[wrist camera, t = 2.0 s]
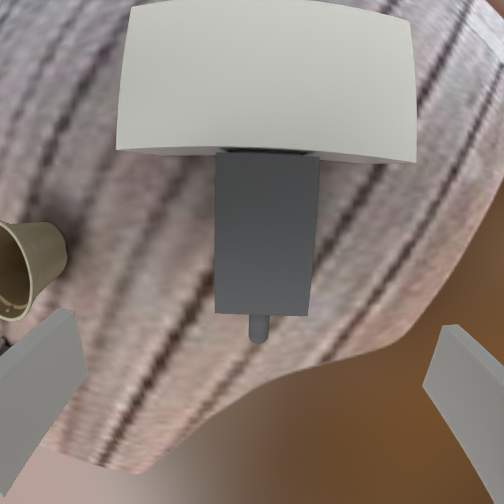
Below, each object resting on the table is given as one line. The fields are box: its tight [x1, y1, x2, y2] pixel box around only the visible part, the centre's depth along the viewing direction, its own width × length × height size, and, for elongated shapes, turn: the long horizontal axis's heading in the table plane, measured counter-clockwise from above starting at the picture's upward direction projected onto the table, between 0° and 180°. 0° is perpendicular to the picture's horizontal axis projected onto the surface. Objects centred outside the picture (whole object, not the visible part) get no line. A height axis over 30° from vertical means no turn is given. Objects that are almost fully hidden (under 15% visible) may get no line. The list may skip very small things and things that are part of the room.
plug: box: [214, 150, 320, 344], centre depth 23 cm, size 20×6×8 cm, turn 178°
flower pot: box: [0, 221, 67, 322], centre depth 24 cm, size 9×9×9 cm
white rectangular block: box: [116, 0, 417, 164], centre depth 20 cm, size 10×18×10 cm, turn 88°
